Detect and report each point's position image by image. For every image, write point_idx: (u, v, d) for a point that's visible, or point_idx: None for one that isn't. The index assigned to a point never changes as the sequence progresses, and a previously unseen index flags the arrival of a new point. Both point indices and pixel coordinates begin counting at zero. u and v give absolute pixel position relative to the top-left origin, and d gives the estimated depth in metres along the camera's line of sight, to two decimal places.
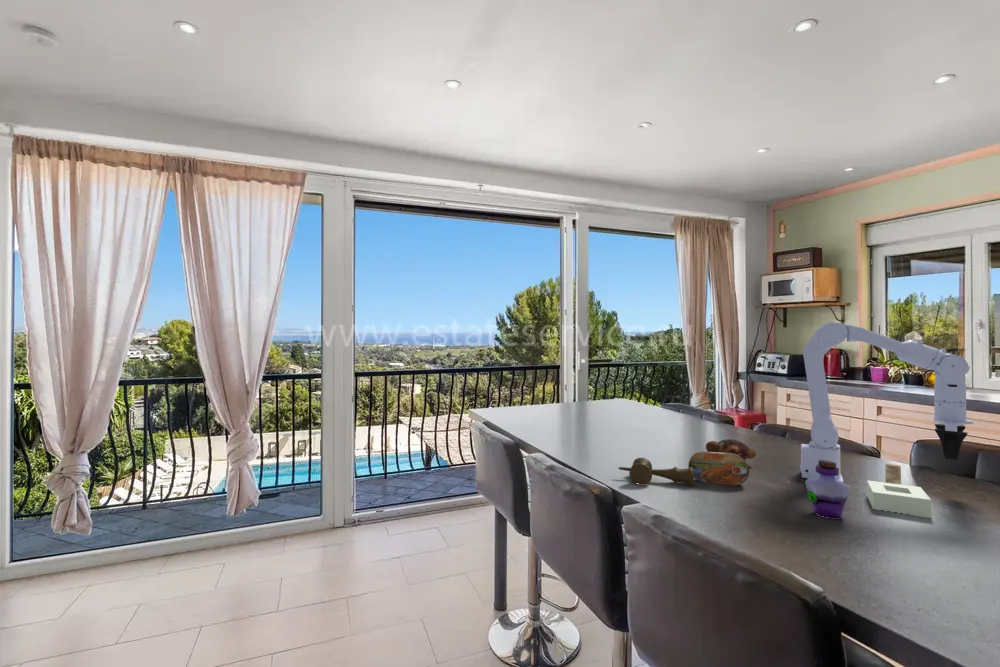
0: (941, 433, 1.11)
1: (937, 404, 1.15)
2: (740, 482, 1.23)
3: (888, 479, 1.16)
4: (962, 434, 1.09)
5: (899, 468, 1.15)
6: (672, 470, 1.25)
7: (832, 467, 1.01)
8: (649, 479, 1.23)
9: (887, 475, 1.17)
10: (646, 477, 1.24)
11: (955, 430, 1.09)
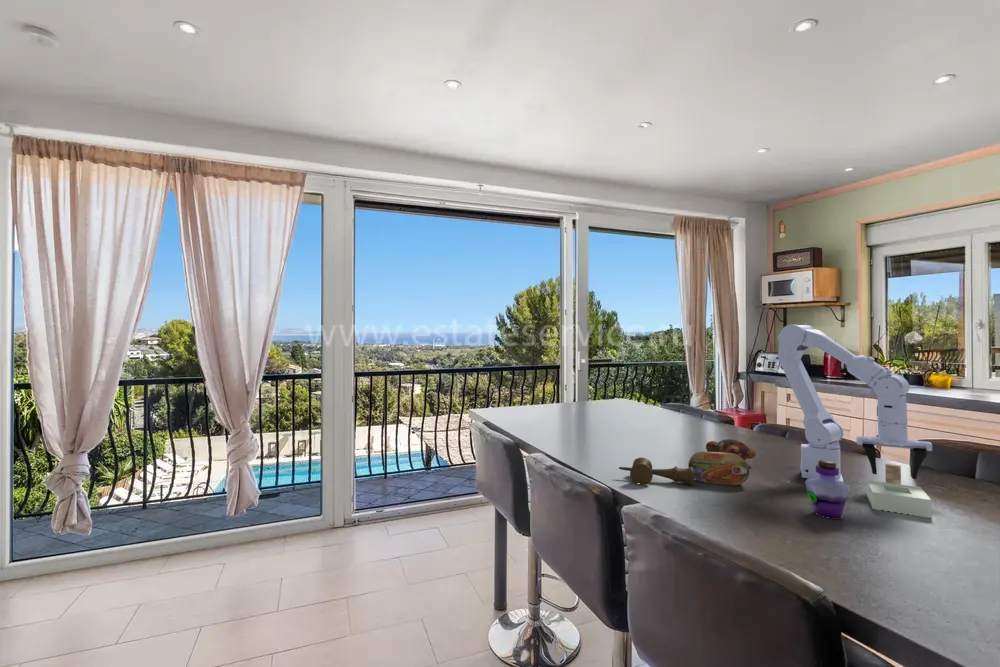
0: None
1: None
2: (740, 482, 1.23)
3: (888, 479, 1.16)
4: (863, 448, 1.18)
5: (899, 468, 1.15)
6: (672, 470, 1.25)
7: (832, 467, 1.01)
8: (650, 479, 1.23)
9: (887, 475, 1.17)
10: (647, 477, 1.24)
11: (857, 443, 1.20)
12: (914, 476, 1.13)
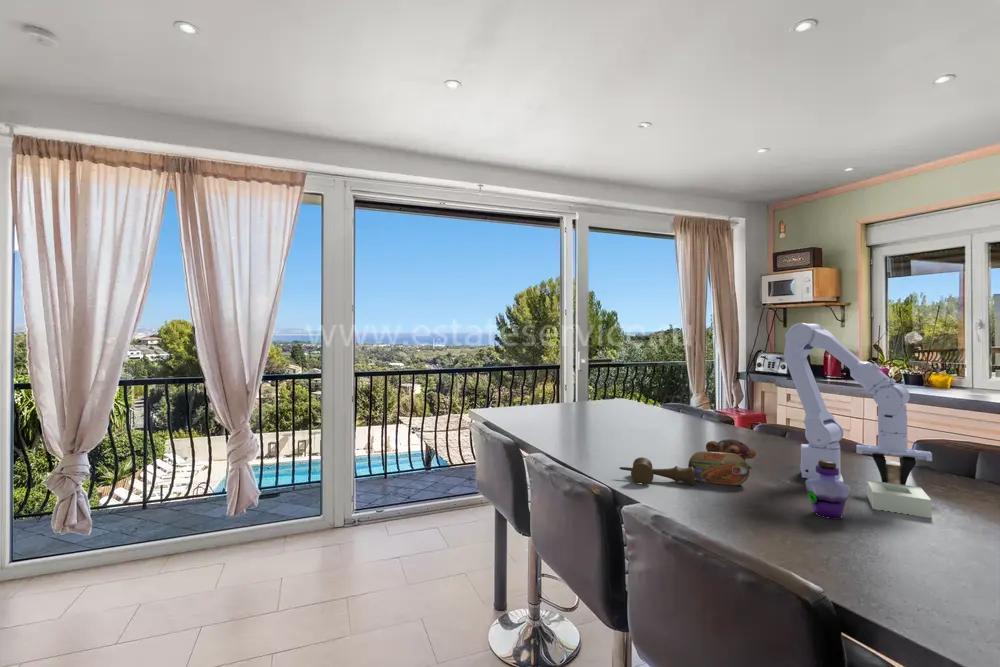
0: None
1: None
2: (740, 482, 1.23)
3: (888, 479, 1.16)
4: (873, 458, 1.17)
5: (899, 468, 1.15)
6: (673, 469, 1.25)
7: (832, 467, 1.01)
8: (651, 479, 1.24)
9: (887, 475, 1.17)
10: (648, 477, 1.24)
11: (857, 452, 1.20)
12: (903, 484, 1.15)
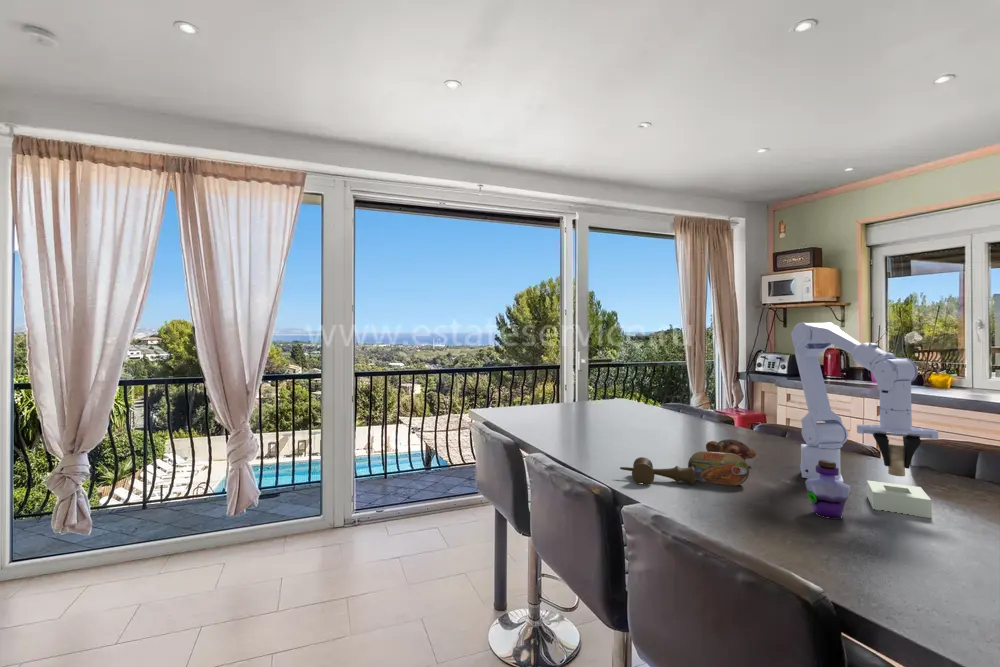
0: (873, 436, 1.12)
1: None
2: (740, 482, 1.22)
3: (891, 460, 1.08)
4: (875, 438, 1.09)
5: (903, 448, 1.07)
6: (674, 469, 1.25)
7: (832, 467, 1.01)
8: (652, 479, 1.24)
9: (890, 456, 1.09)
10: (649, 477, 1.24)
11: (857, 432, 1.12)
12: (907, 465, 1.07)
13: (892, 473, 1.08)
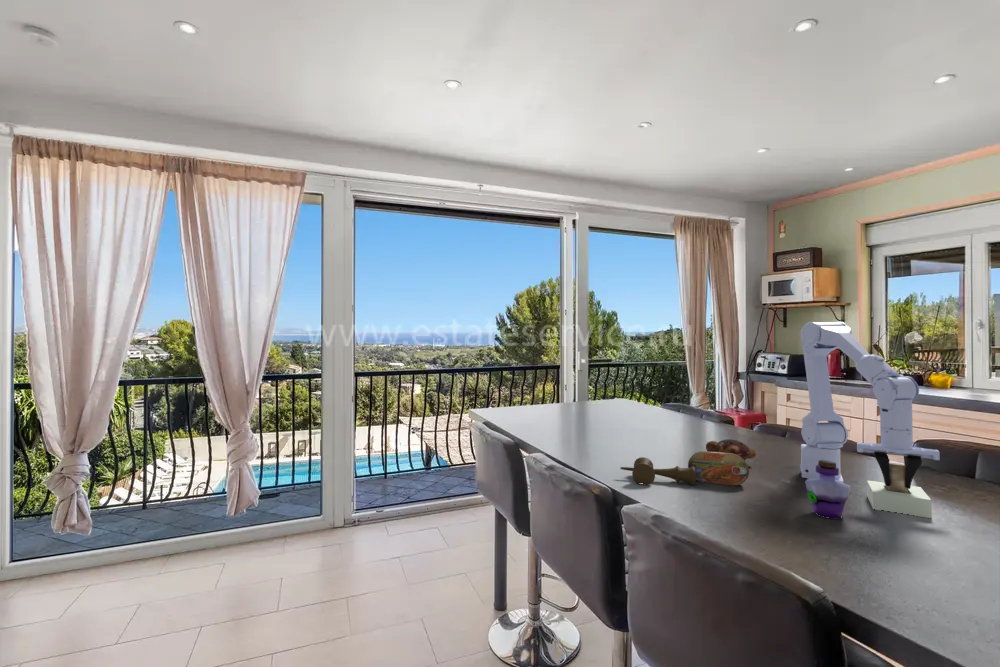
0: None
1: None
2: (740, 482, 1.22)
3: (892, 480, 1.07)
4: (875, 457, 1.08)
5: (903, 468, 1.06)
6: (674, 469, 1.25)
7: (832, 467, 1.01)
8: (652, 479, 1.24)
9: (890, 475, 1.07)
10: (649, 477, 1.24)
11: (857, 450, 1.10)
12: (908, 486, 1.05)
13: None
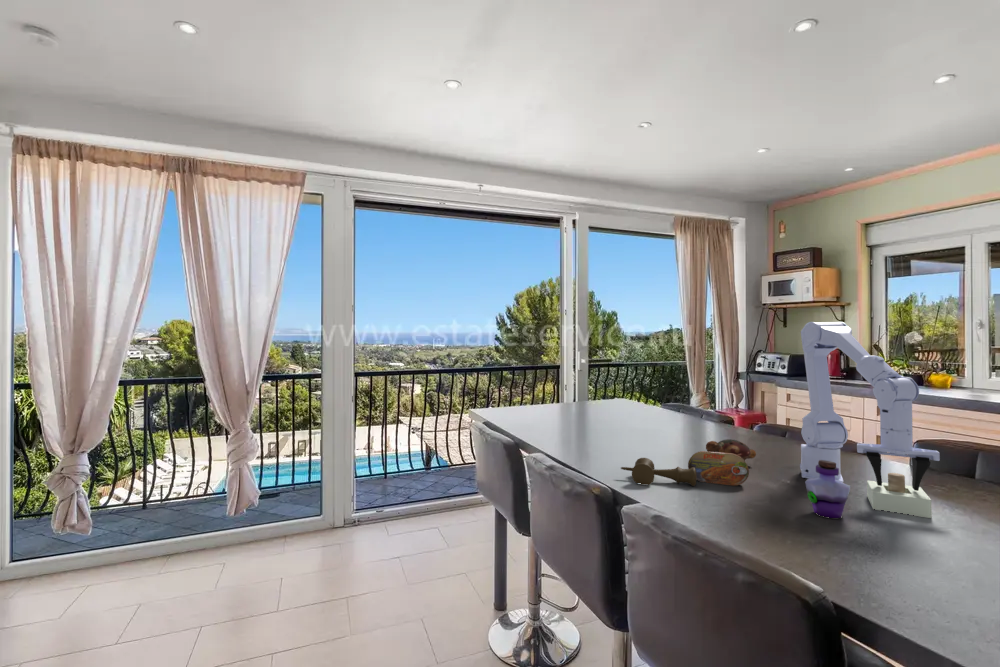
0: None
1: None
2: (740, 482, 1.22)
3: None
4: (868, 457, 1.08)
5: (903, 478, 1.06)
6: (675, 470, 1.25)
7: (832, 467, 1.01)
8: (652, 479, 1.23)
9: (890, 486, 1.07)
10: (649, 477, 1.23)
11: (857, 451, 1.10)
12: (916, 487, 1.04)
13: None
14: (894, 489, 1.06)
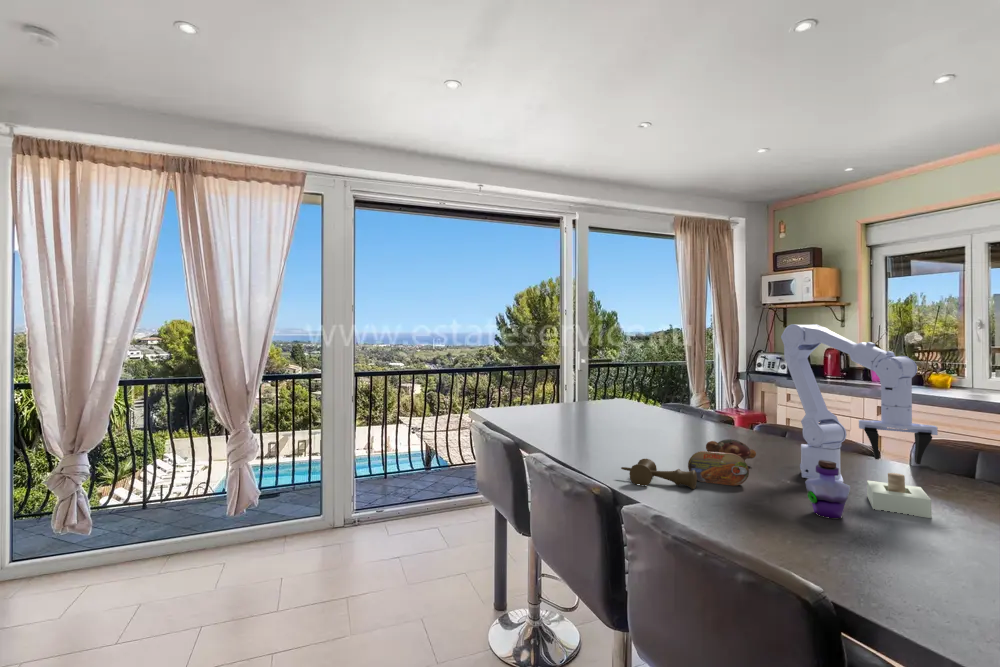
0: None
1: None
2: (740, 482, 1.22)
3: (892, 490, 1.07)
4: (866, 432, 1.14)
5: (903, 478, 1.06)
6: (674, 472, 1.23)
7: (832, 467, 1.01)
8: (649, 480, 1.22)
9: (890, 486, 1.07)
10: (646, 478, 1.23)
11: (859, 427, 1.16)
12: (918, 461, 1.09)
13: None
14: (894, 489, 1.06)
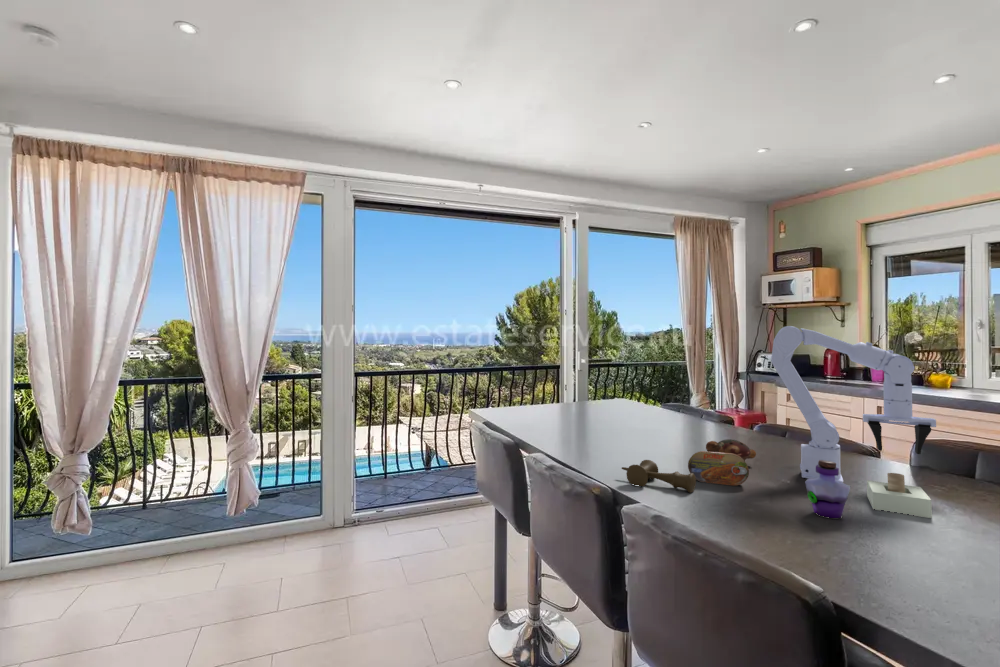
0: (868, 424, 1.25)
1: None
2: (740, 482, 1.22)
3: (892, 490, 1.07)
4: (869, 425, 1.22)
5: (903, 478, 1.06)
6: (671, 474, 1.21)
7: (832, 467, 1.01)
8: (645, 481, 1.22)
9: (890, 486, 1.07)
10: (642, 479, 1.22)
11: (863, 420, 1.24)
12: (918, 451, 1.18)
13: None
14: (894, 489, 1.06)
